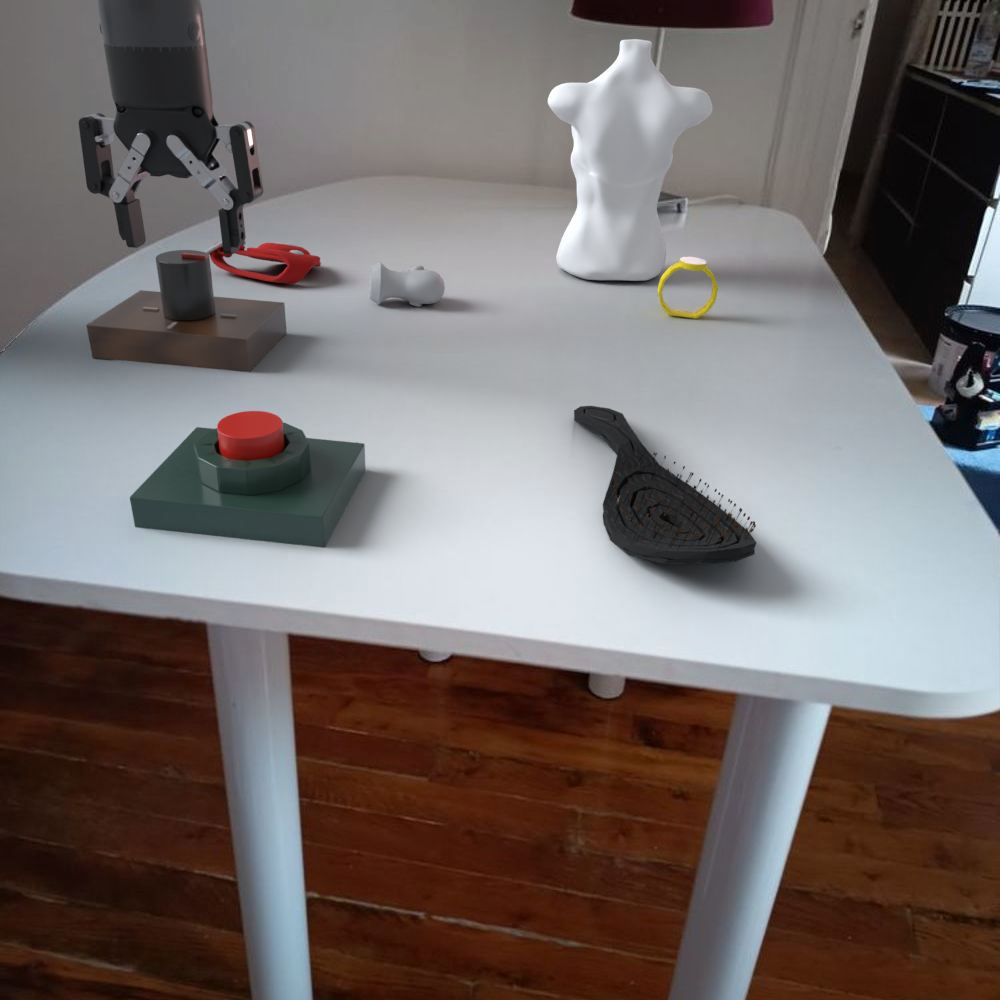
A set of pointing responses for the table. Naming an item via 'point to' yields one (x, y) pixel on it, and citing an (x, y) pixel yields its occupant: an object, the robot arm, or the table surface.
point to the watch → (694, 265)
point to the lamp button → (250, 435)
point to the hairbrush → (660, 504)
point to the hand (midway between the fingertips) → (184, 248)
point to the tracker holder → (276, 252)
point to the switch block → (252, 490)
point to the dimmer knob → (185, 284)
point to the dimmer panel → (188, 333)
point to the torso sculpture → (622, 163)
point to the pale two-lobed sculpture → (405, 285)
